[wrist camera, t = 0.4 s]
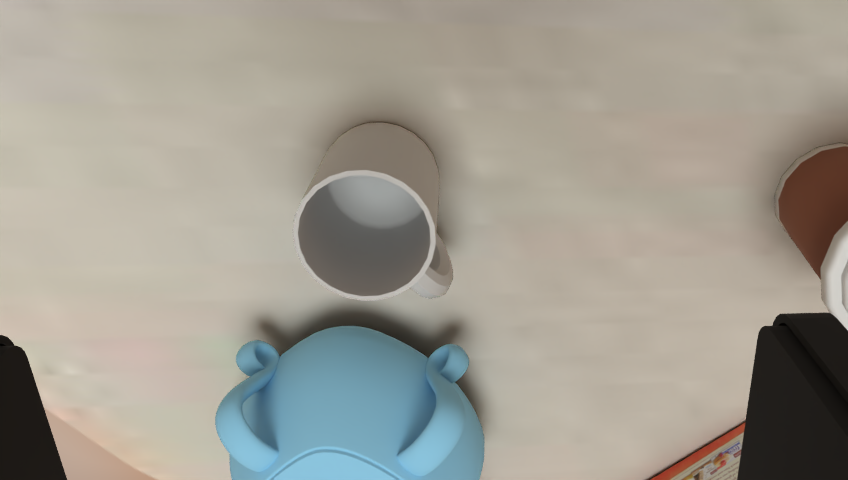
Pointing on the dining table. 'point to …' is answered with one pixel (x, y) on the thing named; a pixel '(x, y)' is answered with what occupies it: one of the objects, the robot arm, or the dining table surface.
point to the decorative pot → (350, 411)
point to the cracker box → (710, 460)
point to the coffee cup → (820, 219)
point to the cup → (374, 217)
